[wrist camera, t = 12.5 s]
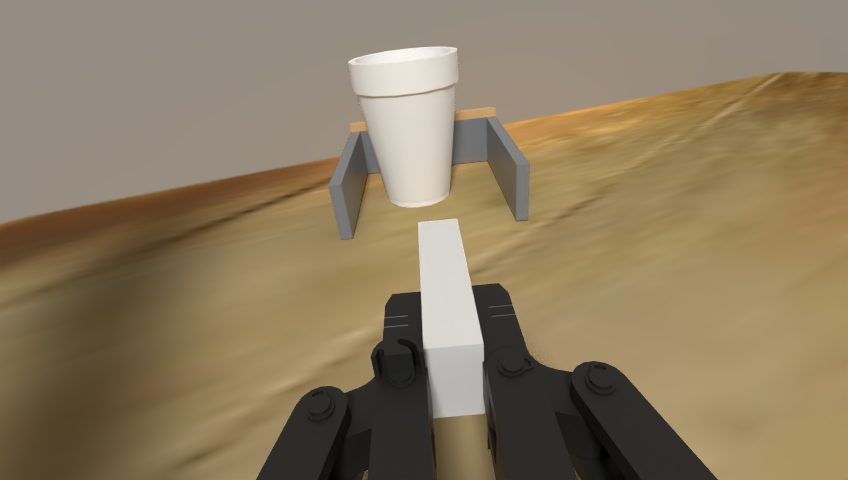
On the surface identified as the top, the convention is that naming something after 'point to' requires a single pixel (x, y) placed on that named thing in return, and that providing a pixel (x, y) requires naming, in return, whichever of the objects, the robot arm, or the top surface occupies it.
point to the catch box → (471, 143)
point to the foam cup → (410, 119)
